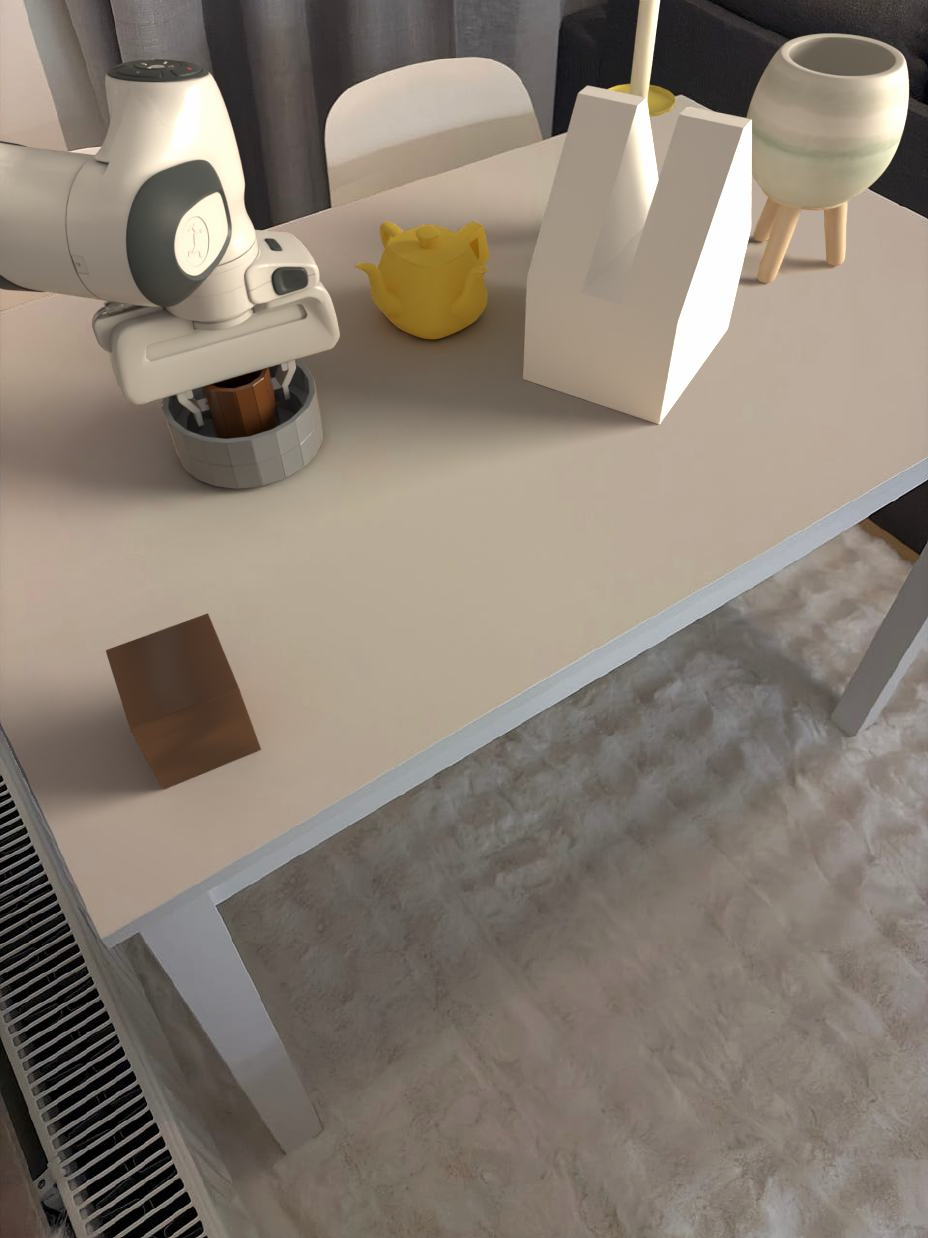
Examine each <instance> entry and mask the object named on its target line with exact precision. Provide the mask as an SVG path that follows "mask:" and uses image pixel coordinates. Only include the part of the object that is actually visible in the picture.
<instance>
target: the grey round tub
mask: <svg viewBox="0 0 928 1238" xmlns="http://www.w3.org/2000/svg"><path fill="white" fill-rule="evenodd" d="M295 364H296V370H295V372H294V374H293V377H292V379H291V381H290V383H289V385H288V389H289V394H290V399H288V400H284V401H281V402H277V403H276V404H277V409H278V414H279V418H280V423H281V425H279V426H277V427H276V428H274V429H272V430H269V431H265V432H262V433H259V434H256V435H252V436H249V437H239V438H230V439H223V438H216V436H215V433H214V429H213V426H212V423H209V424H206V425H202V426H198V424H197V422H196V419H195V417H194V414H193V412H191V411H190V410H189V409H187V408H186V407H185V406H183V405H182V404H181V403H179V401H178V399H177V397H176V395H172V396H169V397H166V398H162V403H161V410H162V414H163V417H164V419H165V423H166V425H167V429H168V431H169V434H170V438H171V440H172V443H173V446H174V449H175V452H176V455H177V458H178V459H179V462H180V464H181V467H182V468H183V469H184V470H185V471H186V472H187V473H189V474H190V475H191V476H192V477H194V479H196V480H197V481H200V482H202V483H206V484H208V485H211V486H214V487H217V488H228V489H236V490H238V489H240V490H241V489H248V488H249V489H250V488H257V487H264V486H268V485H270V484H273V483H277V482H278V481H282V480H285V479H287V478H289V477H290V476H292V475H294V474H296V473H297V472H299V471H300V470H302V469H303V468H305V467H306V466H307V465H308V464H309V463H310V462H311V461H312V460H313V459H314V458H315V457H316V456H317V454H318V452H319V450H320V447H321V445H322V442H323V441H324V426H323V419H322V413H321V408H320V403H319V395H318V390H317V386H316V380H315V377H314V375H313V374H312V372H311V371H310V370H309V368H308V366H307V365H306V364H304V363H303V362H301V361H299V359H295ZM278 366H279V365H275V366H272V367H268V368H269V372H270V377H271V378H274V377H275V376H276V373H277V370H278ZM192 393H193V398H194V399H196V400H200V399H204V395H203V391H202V388H201V387H200V388H196V389H193V390H192Z"/></svg>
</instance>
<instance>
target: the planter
mask: <svg viewBox="0 0 928 1238" xmlns="http://www.w3.org/2000/svg"><path fill="white" fill-rule="evenodd" d="M909 82H910V79H909V69H908V65H907V60H906V57H905V56H904V55H903V53H902V52H901V51H900V50H898V49H897V48H895V47H894V46H892V45H890V44H888V43H885V42H883V41H882V40H877V39H874V38H871V37H866V36H861V35H857V34H855V35H854V34H847V33H816V34H808V35H803V36H798V37H796V38H793V39H790V40H788V41H787V42H785V43H784V44H782V45H781V46H780V47H779V48H778V50H776V52H775V54H774V55H773V56H772V58H771V59H770V61H769V62H768V64H767V66H766V68H765V69H764V71H763V73H762V74H761V77H760V78H759V81H758V83H757V85H756V87H755V90H754V92H753V95H752V97H751V101H750V104H749V107H748V110H747V113H746V117H745V118H747V119H752V157H751V177H752V178H753V179H754V181H755V182H756V184H757V185H758V186H759V187H760V189H761V191H762V192H763V194H764V195H765V196H766V198H767V200H766V201H765V204H764V206H763V209H762V211H761V214H760V216H759V218H758V220H757V223H756V225H755V228H754V230H753V234H752V235H753V239H754V240H755V241H757V242H761V243H764V242H766V246H765V248H764V251H763V255H762V258H761V261H760V264H759V268H758V272H757V279H758V281H759V282H761V283H764V284H770V283H773V282H774V281H775V280H776V278H777V275H778V273H779V270H780V268H781V265H782V264H783V261H784V258H785V255H786V253H787V250H788V249H789V245H790V242H791V240H792V238H793V235H794V232H795V229H796V227H797V224H798V222H799V219H800V217H801V214H802V211H823V218H824V219H823V223H824V225H823V226H824V241H825V243H824V244H825V245H824V246H825V261H826V263H827V264H828V265H830V266H833V267H837V266H840V265H842V264H843V263H844V261H845V259H846V249H847V219H848V204H849V203H848V202H849V201H850V200H852V199H854V198H855V197H857V196H858V195H861V194H862V193H863V192H865V191H866V190H867V189H869V188H870V187H871V186H872V185H873V184H874V183H875V182H876V181H877V180H878V179H879V178H880V177H881V176H882V175H883V173H884V172H885V171H886V170H887V168H888V167H889V165H890V164H891V162H892V160H893V158H894V156H895V154H896V152H897V150H898V147H899V145H900V142H901V139H902V136H903V133H904V129H905V124H906V120H907V115H908V108H909V107H908V106H909V96H910V83H909Z"/></svg>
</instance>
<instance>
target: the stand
mask: <svg viewBox="0 0 928 1238" xmlns="http://www.w3.org/2000/svg"><path fill="white" fill-rule="evenodd" d="M105 653H106V657H107V660H108V663H109V666H110V671H111V673H112V677H113V679H114V683H115V685H116V689H117V693H118V695H119V698H120V702H121V705H122V708H123V712H124V715H125V719H126V721H127V724H128V725H127V726H128V728H129V731H130V732H131V734H132V736H133V737H134V740H135V741H136V743H137V745H138V747H139V749H140V751H141V753H142V754H143V756H144V758H145V759H146V762H147V763H148V765H149V767H150V768H151V770H152V772H153V774H154V776H155V778H156V779H157V781H158V784H159V785H160V787H161V789H162V790H166V789H169V788H171V787H173V786H176V785H178V784H181V783H184V782H186V781H189V780H191V779H193V778H195V777H199V776H200V775H202V774H205V773H207V772H211V771H213V770H215V769H217V768H220V767H223V766H225V765H227V764H230V763H233V762H235V761H236V760H240V759H241V758H244V757H247V756H249V755H252V754H254V753H256V752H260V751H261V750H262V748H261V745H260V742H259V740H258V736H257V734H256V731H255V728H254V726H253V723H252V720H251V717H250V715H249V712H248V709H247V706H246V703H245V700H244V698H243V695H242V693H241V690H240V687H239V684H238V682H237V680H236V677H235V675H234V672H233V670H232V668H231V667H232V666H231V664H230V663H229V660H228V658H227V656H226V653H225V651H224V648H223V646H222V643H221V640H220V637H219V636H218V633H217V631H216V629H215V626H214V624H213V621H212V619H211V616H210V614H209V613H204V614H202V615H199V616H196V617H194V618H190V619H189V620H185V621H183V622H180V623H177V624H175V625H171V626H169V627H166V628H163V629H161V630H160V629H159V630H157V631H155V632H153V633H152V632H151V633H149V634H146V635H143V636H141V637H139V638H136V639H133V640H130V641H127V642H125V643H121V644H118V645H115V646H114V647H111V648H107V649H105Z"/></svg>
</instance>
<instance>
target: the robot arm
mask: <svg viewBox="0 0 928 1238" xmlns="http://www.w3.org/2000/svg"><path fill="white" fill-rule="evenodd" d="M104 85H105V95H106V102H107V107H108V114H109V119H110V122H109V125H108V130H107V133H106V135H105V138H104V141H103V143H102V145H101V147H100V148H99V149H98V151H97V152H96V153H95V154H91V153H89V154H88V153H83V152H82V153H81V152H72V151H65V150H55V149H48V148H39V147H32V146H27V145H23V144H20V143H15V142H11V141H4V140H3V141H2V140H0V290H4V291H14V292H15V291H16V292H32V293H52V294H58V295H66V296H71V297H78V298H84V299H85V298H86V299H91V300H98V301H104V302H103V306H102V307H101V308H99V309H97V311H96V312H95V313H94V314H93V317H92V319H91V328H92V331H93V333H94V336H95V339H96V341H97V344H98V345H99V346H100V347H101V349H103V350H104V351H106V352H108V356H109V360H110V365H111V368H112V371H113V375H114V378H115V381H116V384H117V386H118V388H119V391H120V394H121V395H122V397H123V399H124V400H125V401H127V402H128V403H130V404H132V405H134V406H142V405H144V404H149V403H152V402H155V401H159V400H163V398H166V397H169V396H172V395H176V397H177V399H178V401H179V403H181V404H182V405H183V406H185V407H186V408H187V409H189V410H190V411H191V412H193V414H194V417H195V419H196V422H197V424H198V426H202V425H206V424H209V423H212V422H214V420H213V417H212V416H211V415H212V413H211V409H210V408H209V406H208V404H207V402H206V400H205V398H204V399H200V400H196V399H194V398H193V393H192V390H193V389H196V388H200V387H203V386H207V385H210V384H213V383H217V382H220V381H224V380H227V379H231V378H234V377H237V376H241V375H244V374H248V373H251V372H254V371H258V370H261V369H265V368H268V367H272V366H275V365H279V366H278V370H277V373H276V376H275V377H274V378H271V381H272V386H273V391H274V395H275V400H276V403H277V402H281V401H284V400H288V399H290V394H289V389H288V385H289V383H290V381H291V379H292V377H293V374H294V372H295V370H296V364H295V359H296V360H299V359H302V358H305V357H310V356H313V355H316V354H319V353H323V352H326V351H329V350H333V349H334V348H335V347H336V345H337V343H338V342H339V339H340V337H341V331H340V327H339V326H340V325H339V322H338V317H337V313H336V310H335V306H334V304H333V300H332V298H331V296H330V293H329V291H327V289H326V287H325V285H324V284H323V283H322V282H321V280H320V270H319V267H318V265H317V263H316V260H315V258H314V257H313V256H312V254H311V252H310V251H309V249H307V247H306V246H305V245H304V243H302V241H301V240H300V239H298V237H296V236H295V235H294V234H293V233H291V232H288V231H279V230H277V231H276V230H262V229H255V227H254V224H253V222H252V220H251V218H250V216H249V214H248V212H247V209H246V205H245V192H246V191H245V188H246V183H245V182H246V181H245V176H244V170H243V165H242V160H241V156H240V151H239V148H238V143H237V140H236V136H235V132H234V128H233V126H232V125H233V124H232V122H231V119H230V116H229V112H228V109H227V106H226V103H225V101H224V98H223V95H222V92H221V90H220V88H219V86H218V84H217V81H216V80H215V78H214V76H213V75H212V73H211V72H209V71H208V70H207V69H205V68H203V67H201V66H199V65H198V64H196V63H193V62H188V61H183V60H175V59H174V60H173V59H160V58H154V59H135V60H130V61H125V62H122V63H120V64H117V65H115V66H114V67H112V68H111V69H109V70H108V71H107V72H106V73H105V77H104Z"/></svg>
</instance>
